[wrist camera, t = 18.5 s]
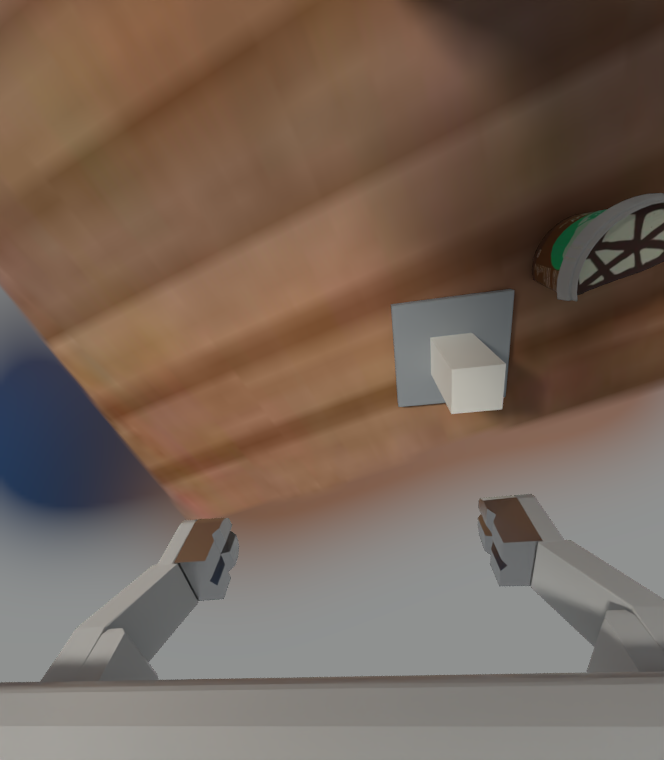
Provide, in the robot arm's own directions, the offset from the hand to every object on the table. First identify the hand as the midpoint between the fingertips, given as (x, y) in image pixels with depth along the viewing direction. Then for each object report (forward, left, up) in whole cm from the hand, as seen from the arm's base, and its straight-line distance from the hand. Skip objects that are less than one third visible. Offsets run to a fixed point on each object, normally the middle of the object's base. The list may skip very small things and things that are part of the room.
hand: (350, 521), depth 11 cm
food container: (-4, +25, -33) cm, 42 cm away
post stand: (+8, +12, -33) cm, 36 cm away
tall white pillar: (+8, +11, -32) cm, 35 cm away
